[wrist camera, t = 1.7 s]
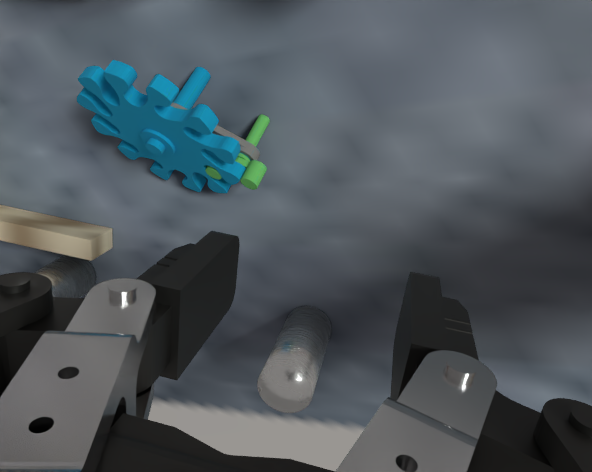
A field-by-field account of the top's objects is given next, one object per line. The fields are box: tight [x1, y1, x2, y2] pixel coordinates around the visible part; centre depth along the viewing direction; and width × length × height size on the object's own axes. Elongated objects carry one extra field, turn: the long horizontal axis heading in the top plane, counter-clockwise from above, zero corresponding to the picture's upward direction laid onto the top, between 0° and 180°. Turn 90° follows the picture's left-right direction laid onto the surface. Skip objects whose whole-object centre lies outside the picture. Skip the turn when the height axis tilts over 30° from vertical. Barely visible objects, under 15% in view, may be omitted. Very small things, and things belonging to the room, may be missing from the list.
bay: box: [0, 205, 113, 261], centre depth 31 cm, size 11×18×2 cm, turn 173°
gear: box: [77, 60, 270, 193], centre depth 28 cm, size 11×6×10 cm
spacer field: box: [34, 255, 332, 413], centre depth 27 cm, size 21×27×7 cm
